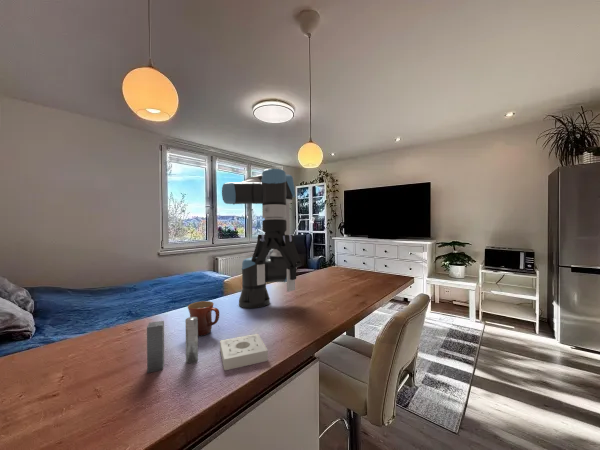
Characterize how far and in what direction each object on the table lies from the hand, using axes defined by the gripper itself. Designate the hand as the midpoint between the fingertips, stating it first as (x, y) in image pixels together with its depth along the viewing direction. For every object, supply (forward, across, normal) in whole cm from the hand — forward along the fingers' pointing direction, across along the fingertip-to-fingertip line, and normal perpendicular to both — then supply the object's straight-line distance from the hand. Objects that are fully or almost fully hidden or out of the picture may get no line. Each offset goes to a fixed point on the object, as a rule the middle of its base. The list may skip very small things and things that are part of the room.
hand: (275, 287), depth 77 cm
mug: (+19, -28, -8) cm, 35 cm away
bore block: (+19, -5, -8) cm, 22 cm away
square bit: (+19, -18, -28) cm, 38 cm away
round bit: (+19, -14, -20) cm, 31 cm away
